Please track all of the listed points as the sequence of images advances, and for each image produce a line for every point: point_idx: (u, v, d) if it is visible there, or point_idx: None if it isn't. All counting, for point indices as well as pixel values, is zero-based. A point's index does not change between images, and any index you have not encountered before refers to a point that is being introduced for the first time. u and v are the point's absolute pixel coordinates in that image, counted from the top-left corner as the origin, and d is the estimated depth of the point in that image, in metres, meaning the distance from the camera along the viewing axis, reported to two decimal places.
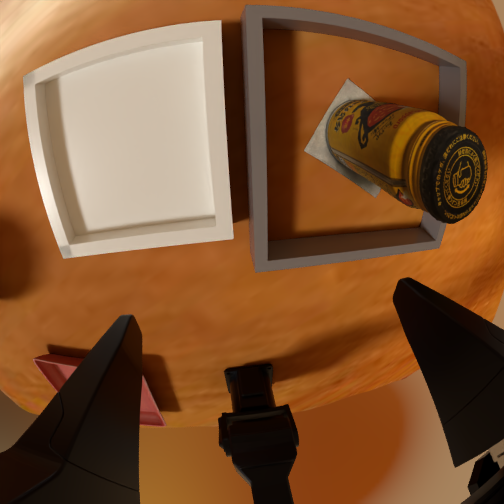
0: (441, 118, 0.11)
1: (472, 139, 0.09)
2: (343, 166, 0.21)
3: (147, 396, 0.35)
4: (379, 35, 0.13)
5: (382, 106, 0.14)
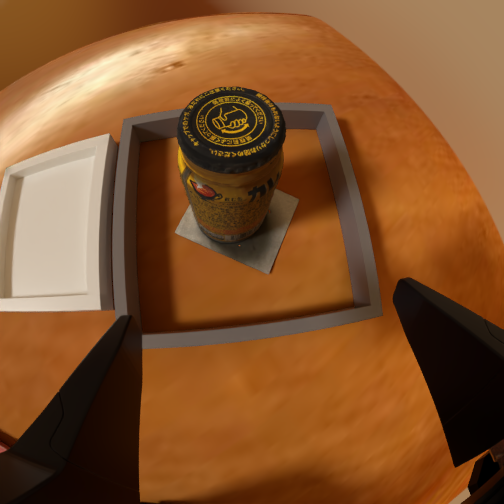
0: None
1: (232, 89, 0.12)
2: (218, 244, 0.22)
3: None
4: None
5: None
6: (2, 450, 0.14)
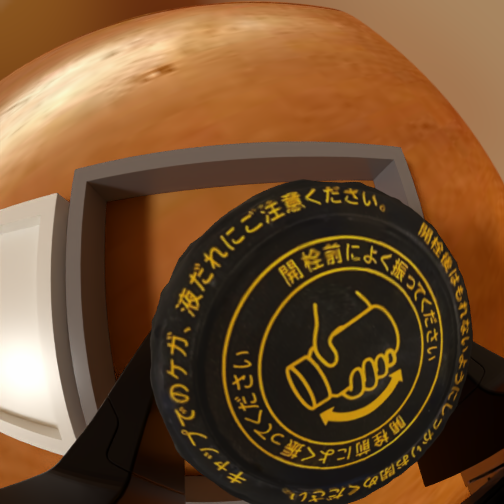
0: None
1: (346, 201, 0.03)
2: None
3: None
4: (239, 159, 0.13)
5: None
6: None
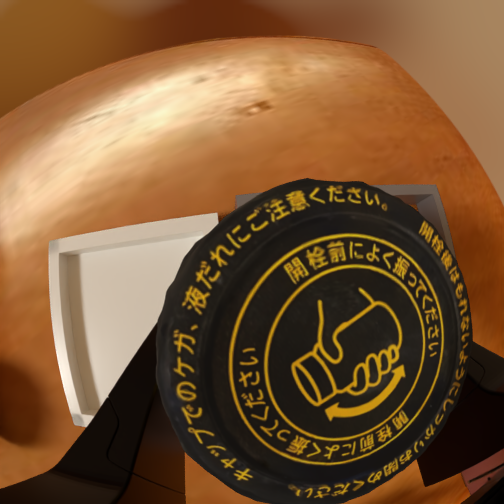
0: None
1: (349, 200, 0.03)
2: None
3: None
4: None
5: None
6: None
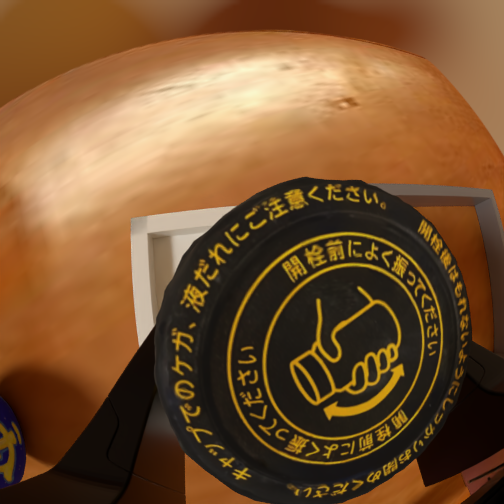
0: None
1: (347, 198, 0.03)
2: None
3: None
4: (443, 195, 0.20)
5: None
6: None
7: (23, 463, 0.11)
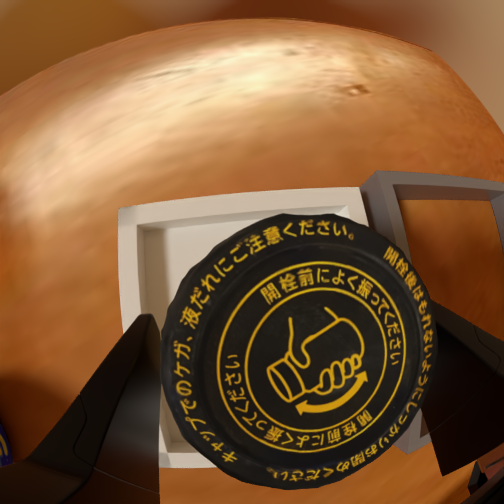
0: None
1: (318, 232, 0.04)
2: None
3: None
4: (463, 187, 0.17)
5: None
6: None
7: None
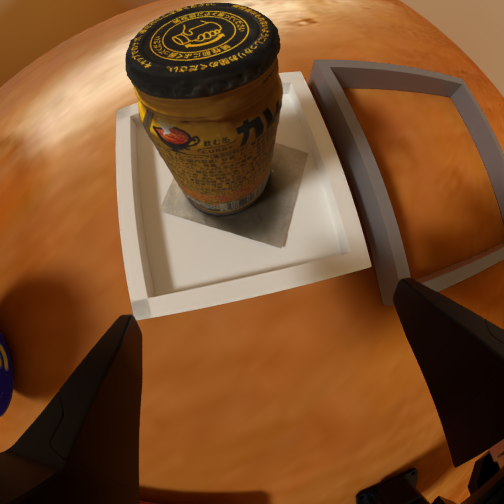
0: None
1: (198, 6, 0.07)
2: (214, 217, 0.17)
3: None
4: (406, 72, 0.18)
5: None
6: None
7: (7, 392, 0.13)
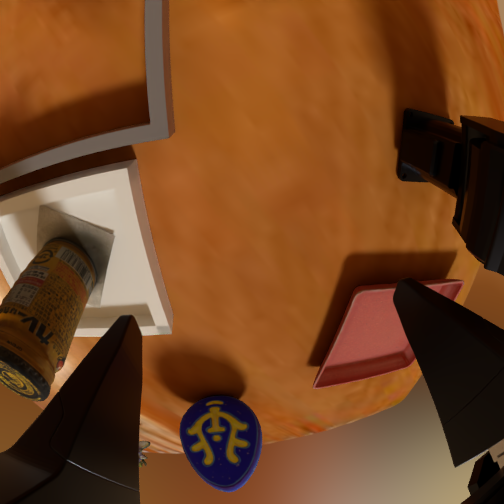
0: None
1: None
2: (98, 276, 0.20)
3: None
4: None
5: None
6: (343, 340, 0.31)
7: (238, 406, 0.32)
